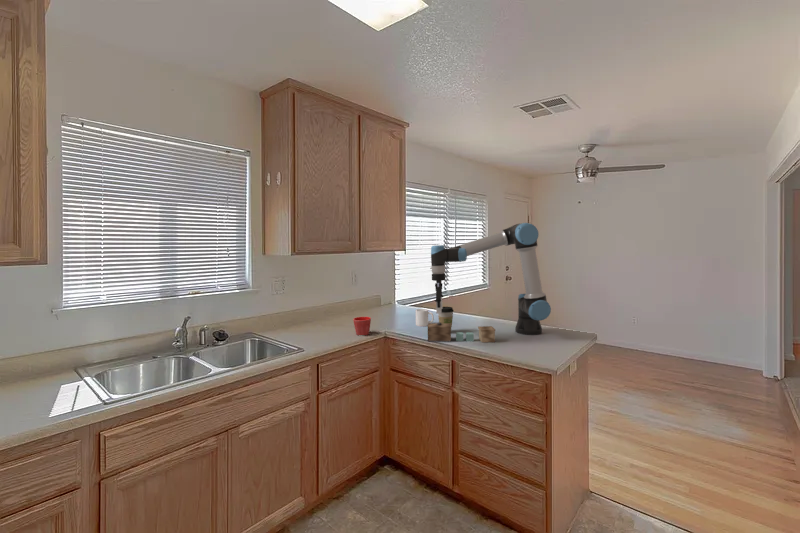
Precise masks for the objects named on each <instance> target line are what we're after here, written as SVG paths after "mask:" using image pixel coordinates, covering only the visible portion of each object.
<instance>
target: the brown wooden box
mask: <svg viewBox="0 0 800 533" xmlns="http://www.w3.org/2000/svg"><path fill="white" fill-rule="evenodd" d="M451 340H452V327H451V324H441V323H440V322H439V321H438V322H436V323H434V322H432V323H428V326H427V341H428V342H429V341H449V342H451Z"/></svg>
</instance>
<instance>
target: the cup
mask: <svg viewBox="0 0 800 533" xmlns="http://www.w3.org/2000/svg"><path fill="white" fill-rule="evenodd" d="M429 315H431V320H429ZM434 320H435V319H434V313H433V312H431V311H429V309H428V308H418V309H417V308H416V309H415V326H417V327H420V328H421V327H423V328H424V327H428V324H429V323H434Z"/></svg>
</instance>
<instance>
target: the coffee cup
mask: <svg viewBox="0 0 800 533" xmlns="http://www.w3.org/2000/svg"><path fill="white" fill-rule="evenodd" d="M441 311H442V313H437V316H438V322H440V323H441V324H451V328H452V327H453V317H454V314H453V313H454V308H453V306H442V309H441Z"/></svg>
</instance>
